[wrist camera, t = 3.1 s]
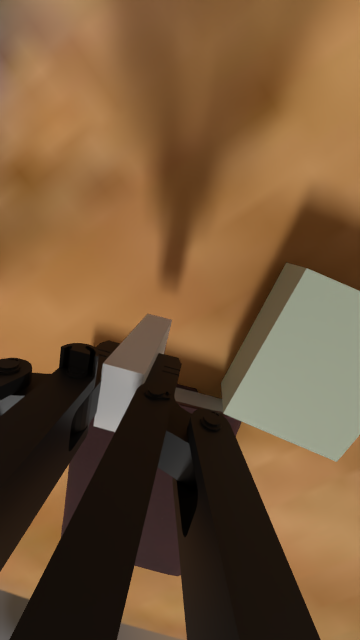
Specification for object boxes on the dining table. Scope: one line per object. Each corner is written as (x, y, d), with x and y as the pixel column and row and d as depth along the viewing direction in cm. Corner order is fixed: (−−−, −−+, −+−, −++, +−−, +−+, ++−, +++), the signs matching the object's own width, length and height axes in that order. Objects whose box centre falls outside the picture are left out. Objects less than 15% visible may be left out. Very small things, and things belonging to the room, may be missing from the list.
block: (285, 262, 17) (306, 268, 13) (394, 309, 17) (448, 329, 13) (220, 380, 20) (223, 413, 16) (312, 419, 20) (336, 461, 16)
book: (240, 396, 20) (246, 424, 17) (185, 545, 26) (181, 586, 23) (94, 356, 21) (73, 376, 18) (73, 511, 27) (55, 546, 24)
